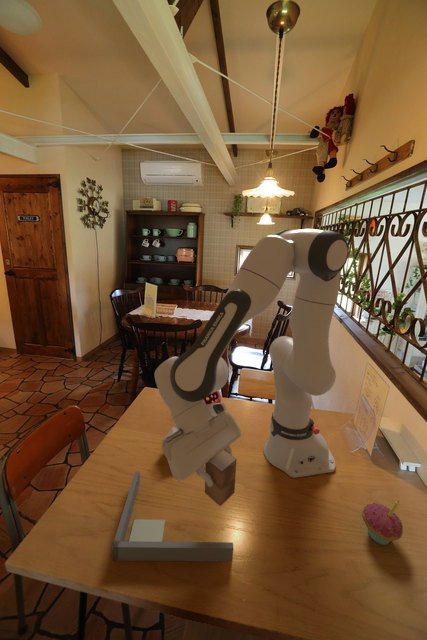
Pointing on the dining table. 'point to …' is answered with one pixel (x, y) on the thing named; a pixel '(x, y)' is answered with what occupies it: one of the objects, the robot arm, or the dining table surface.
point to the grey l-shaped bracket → (160, 540)
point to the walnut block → (221, 477)
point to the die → (170, 433)
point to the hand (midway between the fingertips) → (222, 476)
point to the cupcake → (382, 523)
